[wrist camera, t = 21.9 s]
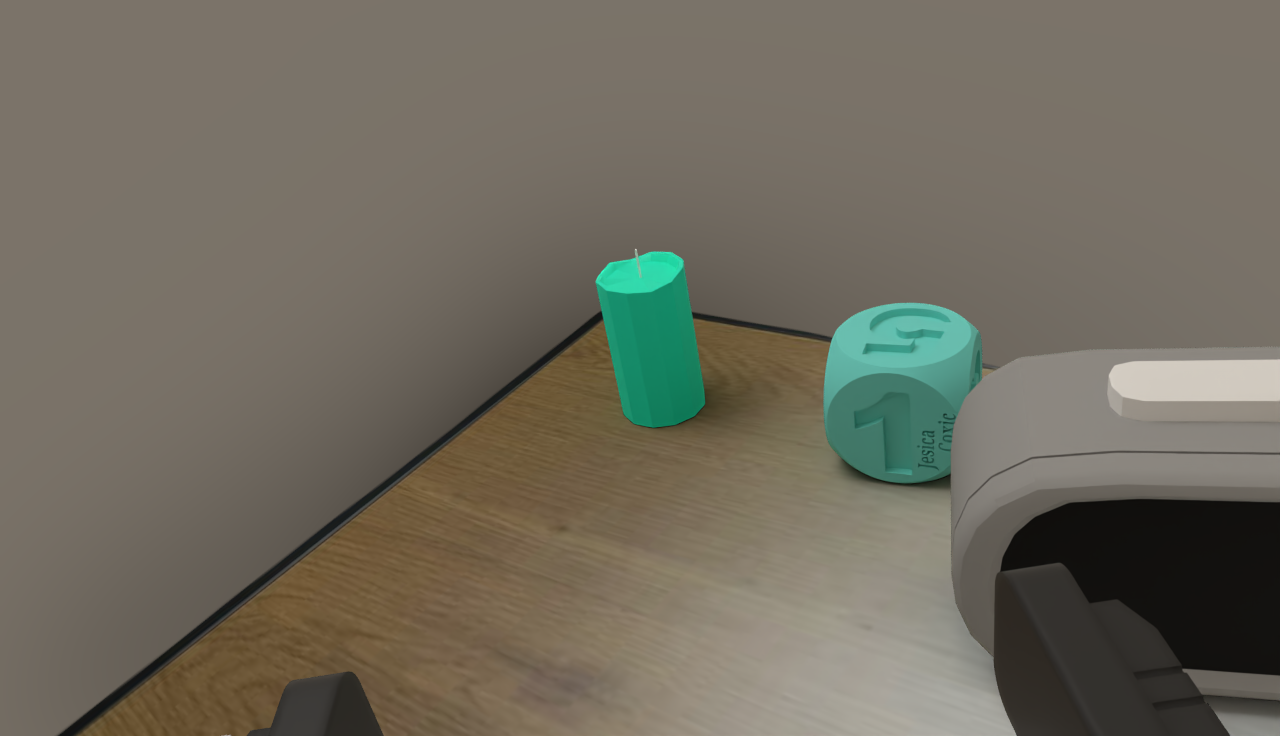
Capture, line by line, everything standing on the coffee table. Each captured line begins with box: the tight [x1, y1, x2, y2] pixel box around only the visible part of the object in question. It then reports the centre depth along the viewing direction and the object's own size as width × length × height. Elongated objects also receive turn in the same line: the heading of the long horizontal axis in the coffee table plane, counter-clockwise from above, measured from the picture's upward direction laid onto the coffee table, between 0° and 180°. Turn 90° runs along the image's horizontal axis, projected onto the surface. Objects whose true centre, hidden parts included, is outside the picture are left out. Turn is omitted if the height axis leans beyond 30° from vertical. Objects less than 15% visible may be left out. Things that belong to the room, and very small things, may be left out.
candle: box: [596, 249, 705, 428], centre depth 68 cm, size 6×6×12 cm
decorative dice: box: [824, 303, 982, 483], centre depth 60 cm, size 8×8×8 cm
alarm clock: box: [951, 347, 1280, 701], centre depth 43 cm, size 21×10×13 cm, turn 75°
